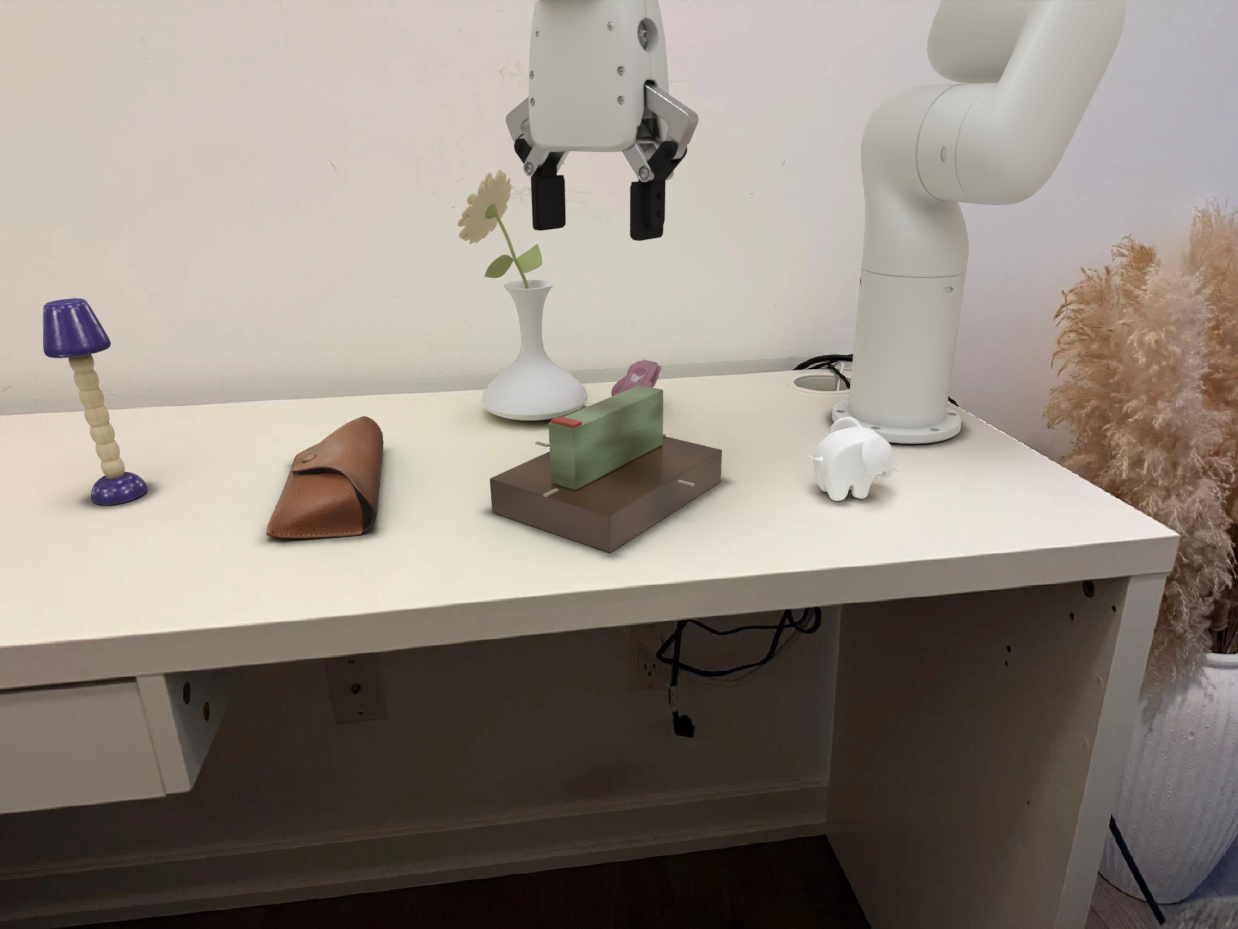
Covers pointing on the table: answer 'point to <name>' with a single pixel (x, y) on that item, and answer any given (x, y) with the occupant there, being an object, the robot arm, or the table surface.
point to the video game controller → (638, 376)
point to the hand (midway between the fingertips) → (596, 233)
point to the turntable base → (608, 494)
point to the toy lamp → (90, 391)
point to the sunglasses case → (332, 486)
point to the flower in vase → (520, 321)
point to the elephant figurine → (852, 459)
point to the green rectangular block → (605, 436)
